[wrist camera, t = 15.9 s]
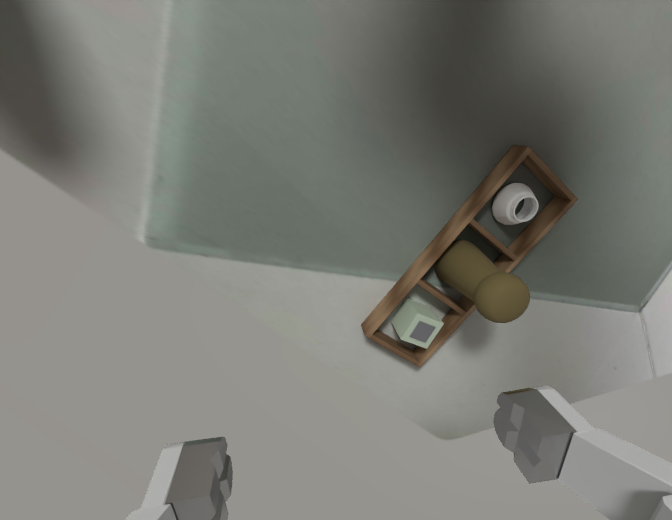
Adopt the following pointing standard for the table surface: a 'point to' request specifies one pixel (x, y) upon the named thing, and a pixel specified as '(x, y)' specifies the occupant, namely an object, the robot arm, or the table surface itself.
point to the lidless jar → (514, 204)
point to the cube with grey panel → (416, 323)
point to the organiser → (465, 217)
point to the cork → (482, 282)
